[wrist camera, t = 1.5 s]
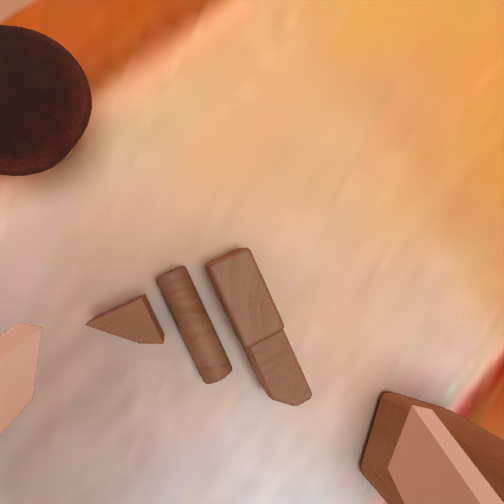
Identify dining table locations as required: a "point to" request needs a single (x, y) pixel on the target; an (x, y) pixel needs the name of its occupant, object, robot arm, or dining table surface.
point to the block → (463, 431)
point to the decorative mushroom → (39, 102)
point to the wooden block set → (203, 333)
